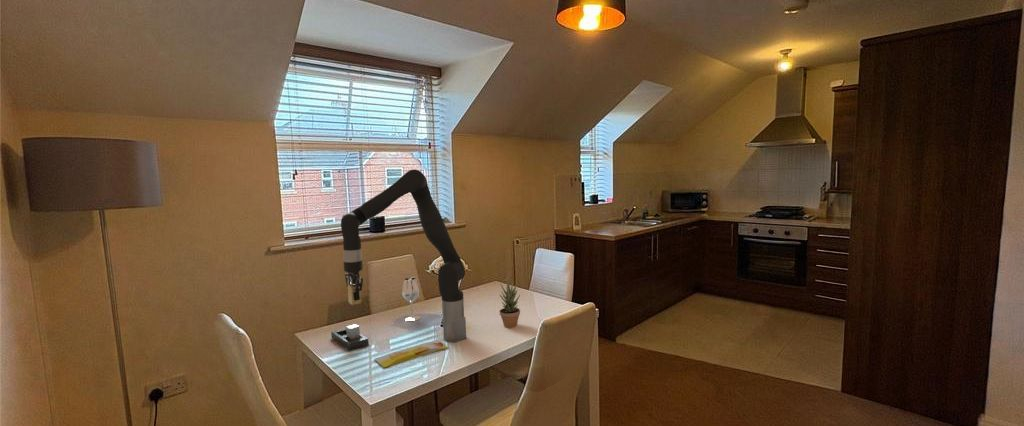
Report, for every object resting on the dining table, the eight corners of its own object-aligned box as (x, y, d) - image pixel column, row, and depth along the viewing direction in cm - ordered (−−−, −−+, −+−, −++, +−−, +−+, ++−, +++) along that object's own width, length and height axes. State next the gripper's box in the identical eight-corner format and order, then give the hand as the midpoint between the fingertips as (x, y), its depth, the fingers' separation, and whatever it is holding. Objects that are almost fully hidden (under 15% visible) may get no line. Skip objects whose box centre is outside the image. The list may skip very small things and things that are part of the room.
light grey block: (360, 344, 182) (359, 326, 181) (351, 347, 179) (349, 328, 178) (356, 342, 185) (355, 323, 184) (347, 344, 182) (346, 326, 181)
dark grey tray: (368, 345, 180) (368, 338, 180) (349, 351, 175) (349, 344, 175) (349, 333, 195) (349, 326, 195) (331, 338, 190) (331, 331, 190)
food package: (383, 364, 158) (373, 356, 166) (383, 370, 158) (374, 361, 166) (448, 344, 174) (437, 337, 182) (449, 349, 175) (437, 342, 183)
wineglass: (418, 321, 208) (415, 280, 206) (402, 321, 208) (399, 281, 206) (421, 315, 216) (419, 276, 214) (406, 316, 216) (404, 277, 214)
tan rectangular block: (361, 302, 185) (360, 284, 184) (352, 304, 182) (351, 286, 181) (357, 300, 188) (356, 282, 187) (348, 302, 185) (347, 284, 184)
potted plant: (504, 321, 204) (502, 270, 202) (523, 323, 201) (521, 271, 198) (496, 328, 195) (494, 275, 192) (516, 330, 191) (514, 276, 189)
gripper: (368, 260, 180) (370, 300, 182) (354, 255, 191) (356, 293, 193) (350, 263, 175) (352, 304, 177) (337, 258, 186) (339, 297, 188)
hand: (354, 298), depth 185 cm, fingers closed on tan rectangular block, 4 cm apart
